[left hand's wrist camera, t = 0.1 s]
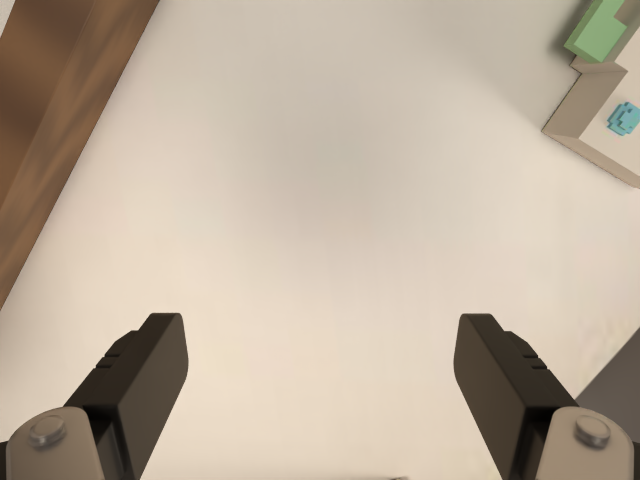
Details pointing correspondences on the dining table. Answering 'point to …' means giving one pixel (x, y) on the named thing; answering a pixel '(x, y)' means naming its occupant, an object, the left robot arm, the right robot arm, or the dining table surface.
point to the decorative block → (604, 90)
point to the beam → (53, 104)
